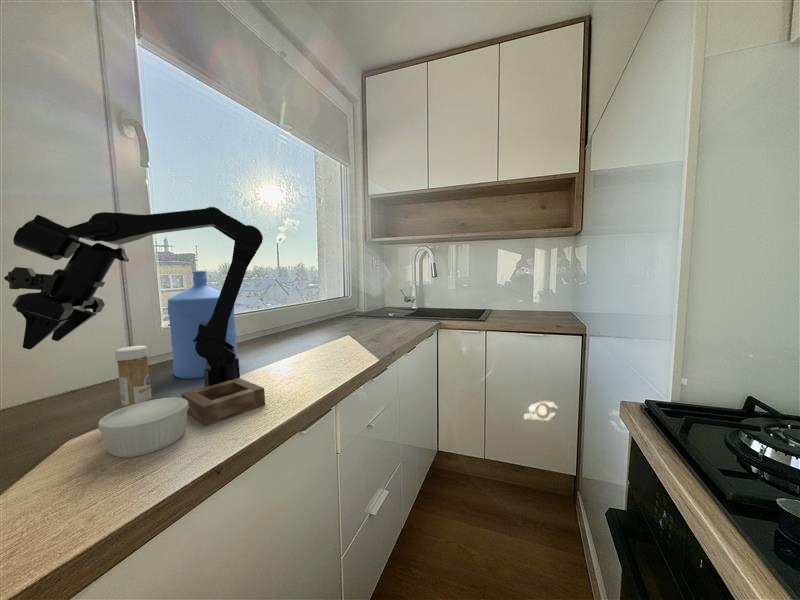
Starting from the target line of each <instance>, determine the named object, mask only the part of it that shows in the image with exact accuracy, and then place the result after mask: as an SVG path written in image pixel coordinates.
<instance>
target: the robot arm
mask: <svg viewBox="0 0 800 600" xmlns="http://www.w3.org/2000/svg"><path fill="white" fill-rule="evenodd" d="M202 228H214V229H216V230H217V231H219V232H220V233H222V234H223V235H225V236H227V237H228V238H230V239H231V240H233V241H234V244H233V251H232V257H231V258H232V259H231V263H230V266H229V267H228V271H227V273H226V276H225V279H224V282H223V284H222V287H221V290H220V291H221V293H220V295H219V298H218V301H217V304H216V306H215V309H214V312H213V315H212V317H211V319H210V320H209V322H208V323H206V322H203V321H202V322H201V323H200V324H199V329H198V334H197V336H196V337H195V339H194V340H193V342H196V345H195V350H196V352H197V353H198V355H199V356H201V357H203V358H206V360H207V363H206V369H205V370H204V378H203V379H204V385H203V386H204V387H207V386H211V385H215V384H218V383H222V382H226V381H229V380H233V379H237V378H240V379H241V375H240V374H241V373H240V372H241V371H240V363H239V362H240V360H239V357H238V358H235V356H236V353H235V347H234V346H232V345H231V344H229V343H228V342H226V335H227V328H228V321H229V318H230V315H231V312H232V309H233V307H234V308H235V303H236V301H237V298H238V295H239V292H240V291H241V290H240V289H241V287H242V284H243V281H244V278H245V275H246V272H247V270H248V268H249V265H250V264H251V262H252V261H253V259H254V257H255V256H256V253H257V252H258V250H259V248H260V247H261V245H262V243H263V239H264V237H263V234H262V232H261V230H260V229H259V228H258V227H255V226H253V225H249V224H247V225H246V224H244V223H242V222H241V221H239V220H238V219H236V218H234V217H232V216H231V215H229V214H227V213H225V212H223V211H221V209H219V208H217V207H215V206H209V207H205V208H198V209H188V210H180V211H178V210H177V211H171V212H170V211H169V212H161V213H152V214H151V213H150V214H136V213H127V212H109V211H108V212H106V211H103V212H96V213H94V214H92V215H91V217H90V218H89V219H88V220H87V221H85V222H81V223H77V224H76V225H72V226H69V227H67V226H64V225H62V224H60V223H58V222H55V221H54V220H53V219H50V218H47V217H46V216H42V215H40V214H38V215H35V217H34V218H33V219H31V220H29V221H27V222H26V223H24V224H23V225H22V226H21V227H19V228H18V229H17V230H16V232H15V234H14V235H13V245H14V246H15V247H18V248H21V249H23V250H26V251H29V252H31V253H34V254H37V255H39V256H43V257H45V258H49V259H51V260H54V261H59V260H62V258H64V259H69V260H68V262H67V263H66V265H65V267H64V268H63V269H62V268H58V269H56V270H54V272H53V273H52V274H47V273H36V272H35V270H34V269H33V268H30V267H21V266H20V267H19V266H18V267H17V266H15V267H14V268H13V269H12V270H11V271H8V273H7V275H6V276H4V277H3V279H4V280H5V281H7V282H8V283H9V286H8V289H9V290H19V289H23V290H37V291H39V292H27V293H24V294H19V295H18V296H17V297H16V299H15V300H14V302H13V303H12V305H11V306H12V307H13V308H15V310H16V311H17V312H18V313H20V314H21V315H22V317H24V320H25V328H24V334H23V341H22V342H23V343H22V348H23V349H26V350H32V349H34V348H35V347H36V346H38V345H39V344H40V343H42V342H43V341H44V340H45V339H46V338H48V337H49V336H50V335H51V334H52V336H51V340H52V341H55V342H59V341H61V340H62V339H63V338H65V337H66V336H68V335H69V334H70V333H72V332H74V331H75V330H76V329H78V328H79V327H80V326H82V325H83V324H85V323H86V322H88V321H89V320H91V319H92V318H93V317H95V316H97V314H98V313H102V310H103V308H104V307H105V306H106V304H105V302H104V299H102V298H100V297H97V296H95V294H96V292H97V290H98V288H101V287H102V288H103V287H104V286H105V283H106V282H105V281H103V280H104V278H105V277H106V275H107V273H108V272H109V270H110V268H111V267H112V265H113V264H114V262H115V260H118V261H121V262H126V263H128V262H130V259H129V257H128V256H127V254H126V249H125V248H122V247H118V248H113V247H110V246H107V245H106V244H103V243H100V242H104V243H108V244H111V245H119V246H121V245H124V244H125V245H126V244H129V243H132V242H135V241H138V240H141V239H144V238H146V237H148V236H152V235H156V234H165V233H173V232H179V231H181V232H182V231H188V230H189V231H190V230H195V229H202ZM80 238H81V239H84V240H87V241H92V242H95V243H94V244H89V243H87V242H84V241H82V240H80ZM91 310H92V311H91Z"/></svg>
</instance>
